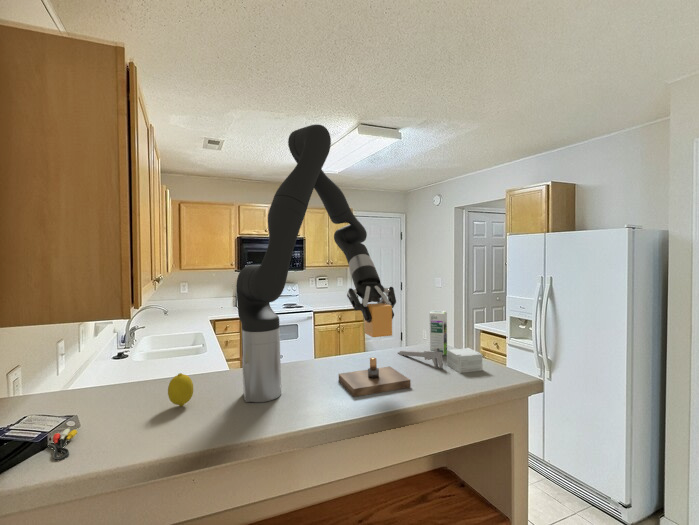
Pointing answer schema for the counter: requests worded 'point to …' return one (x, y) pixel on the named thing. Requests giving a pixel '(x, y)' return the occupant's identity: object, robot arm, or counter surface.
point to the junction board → (373, 381)
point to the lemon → (180, 389)
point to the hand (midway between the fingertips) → (380, 319)
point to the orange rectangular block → (379, 320)
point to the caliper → (427, 356)
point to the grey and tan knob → (373, 369)
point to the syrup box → (438, 331)
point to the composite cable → (62, 443)
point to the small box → (464, 360)
